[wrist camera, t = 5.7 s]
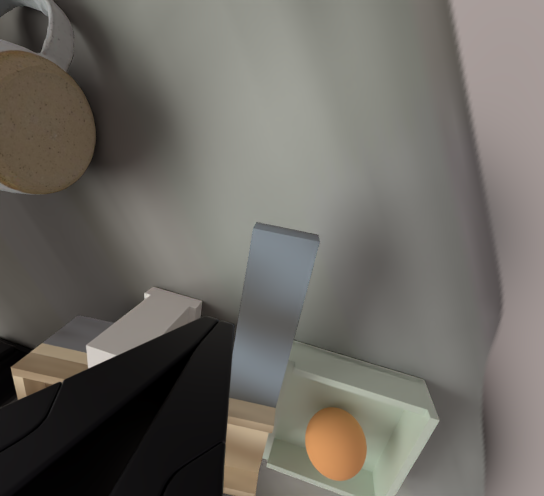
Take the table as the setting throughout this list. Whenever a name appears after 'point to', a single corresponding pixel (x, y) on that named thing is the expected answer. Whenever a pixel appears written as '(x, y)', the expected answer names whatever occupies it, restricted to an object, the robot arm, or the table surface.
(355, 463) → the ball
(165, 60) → the table surface
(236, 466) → the lever
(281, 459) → the tray
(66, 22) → the ceramic mug
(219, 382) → the robot arm
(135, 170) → the table surface
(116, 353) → the stand
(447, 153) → the table surface
